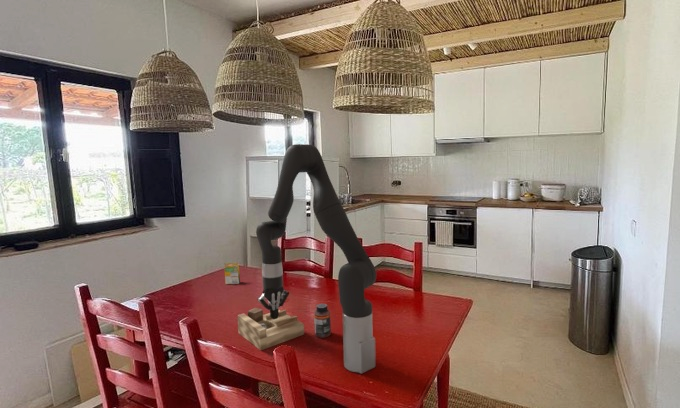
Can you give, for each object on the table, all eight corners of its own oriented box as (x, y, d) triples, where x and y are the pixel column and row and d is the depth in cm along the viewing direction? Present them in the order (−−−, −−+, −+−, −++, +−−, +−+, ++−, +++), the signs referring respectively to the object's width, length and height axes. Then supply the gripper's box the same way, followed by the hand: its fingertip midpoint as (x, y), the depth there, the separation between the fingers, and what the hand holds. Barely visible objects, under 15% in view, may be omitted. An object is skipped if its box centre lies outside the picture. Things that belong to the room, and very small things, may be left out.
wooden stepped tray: (304, 334, 137) (303, 316, 136) (260, 350, 125) (259, 331, 125) (279, 319, 150) (279, 302, 150) (238, 332, 139) (237, 315, 138)
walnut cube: (263, 319, 141) (262, 309, 140) (255, 323, 138) (254, 313, 137) (256, 317, 143) (255, 307, 143) (248, 321, 140) (247, 311, 140)
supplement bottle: (322, 329, 140) (321, 301, 139) (334, 333, 136) (333, 304, 135) (311, 335, 136) (310, 306, 134) (323, 340, 132) (322, 309, 131)
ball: (265, 323, 133) (255, 334, 131) (272, 330, 136) (263, 342, 133) (259, 318, 137) (249, 329, 135) (266, 326, 139) (257, 337, 137)
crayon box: (240, 282, 201) (239, 261, 199) (239, 283, 198) (237, 263, 196) (226, 282, 200) (225, 262, 199) (225, 284, 197) (224, 263, 196)
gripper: (261, 280, 129) (263, 326, 131) (293, 272, 138) (294, 316, 140) (251, 275, 135) (254, 320, 137) (282, 268, 144) (284, 310, 145)
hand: (274, 318), depth 138 cm, fingers closed
